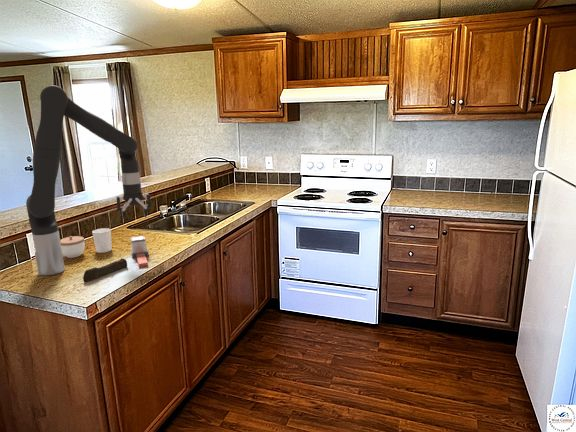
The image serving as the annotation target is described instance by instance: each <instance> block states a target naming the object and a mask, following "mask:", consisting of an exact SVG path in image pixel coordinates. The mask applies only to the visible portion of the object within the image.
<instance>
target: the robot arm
mask: <svg viewBox="0 0 576 432" xmlns="http://www.w3.org/2000/svg"><path fill="white" fill-rule="evenodd" d="M39 99H40V119H39V125H38V127H37V128H38V129H37V131H36V135H35V139H34V147H33V152H32V153H33V154H32V172H33V173H32V174H33V186H32V189H31V194H30V195H29V196H28V197H27V198H26V202H25V204H26V211H27V214H28V215H27V217H28V220H29V221H28V222H29V226H30V230H31V235H32V241H33V245H34V250H35V252H34V257H35V262H36V267H37V272H38V273H37V274H38V276H39V277H40V276H53V275H56V274H57V275H58V274H60V273H63V272H64V271H65V269H66V267H65V262H64V255H63V254H62V249H61V243H60V240H61V238H60V231H59V226H58V222H57V218H56V213H55V208H56V197H55V196H56V183H57V177H58V174H59V169H60V164H61V163H60V162H61V156H62V150H63V149H62V146H63V122H64V118H65V117H67V118H68V119H70V120H72V121H74V122H75V123H76V124H79V125H81V127H83V128H84V129H86V130H88V131H89V132H90V133H92V134H94V136H97V137H98V138H100V139H102V140H104V141H105V142H107V143H110V144H112V145H113V146H114V147H116V148H118V149H117V150H118V154H119V158H120V167H121V183H122V190H123V196H119V195H117V196H116V209H117V211H120V212H121V215H122V218H123V219H124V220H127V213H126V210H127V208H128V207H129V206H138V205H141V206H142V207H143V216H144V218H147V216H148V209H149V208H151V207H152V203H151V197H150V194H149V193H145V194H143V192H142V182H141V175H140V171H139V170H140V169H139V162H138V160H137V155H136V151H137V150H138V142H137V140H135V139H134V138H133V136H130V135H128V134H126V133H125V132H123V131H121V130H119V129H118V128H116V127H115V126H114V125H112V124H111V123H109V122H107V120H104V119H103V118H101V117H100V116H97V115H96V114H94V113H92V112H90V111H88V110H86V109H85V108H83V107H81V106H80V105H78V104H77V103H76V102H74V101H73V100H72V99H71V98H70V97H68V94H67V92H65V90H64V89H63V88H62V87H61V86H57V85H48V86H44V88H43V89H42V90H41V92H40V93H39ZM143 199H145V200H146V201H147V202H146V203H147V204H145V203H144V202H143ZM122 200H123V201H124V202H125V203H124V204H123V206H122V207H121V202H122Z"/></svg>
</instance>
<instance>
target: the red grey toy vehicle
mask: <svg viewBox="0 0 576 432" xmlns="http://www.w3.org/2000/svg"><path fill="white" fill-rule="evenodd" d="M146 250H147V251H146V252H140V253H133V252H132V248H131V249H130V252H131V253H130V254H131V258H132V259H136V261H137V264H138V268H139V269H140V268H147V267H149V261H148V260H147V257H148V256H149V250H148V247H147V246H146Z"/></svg>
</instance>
